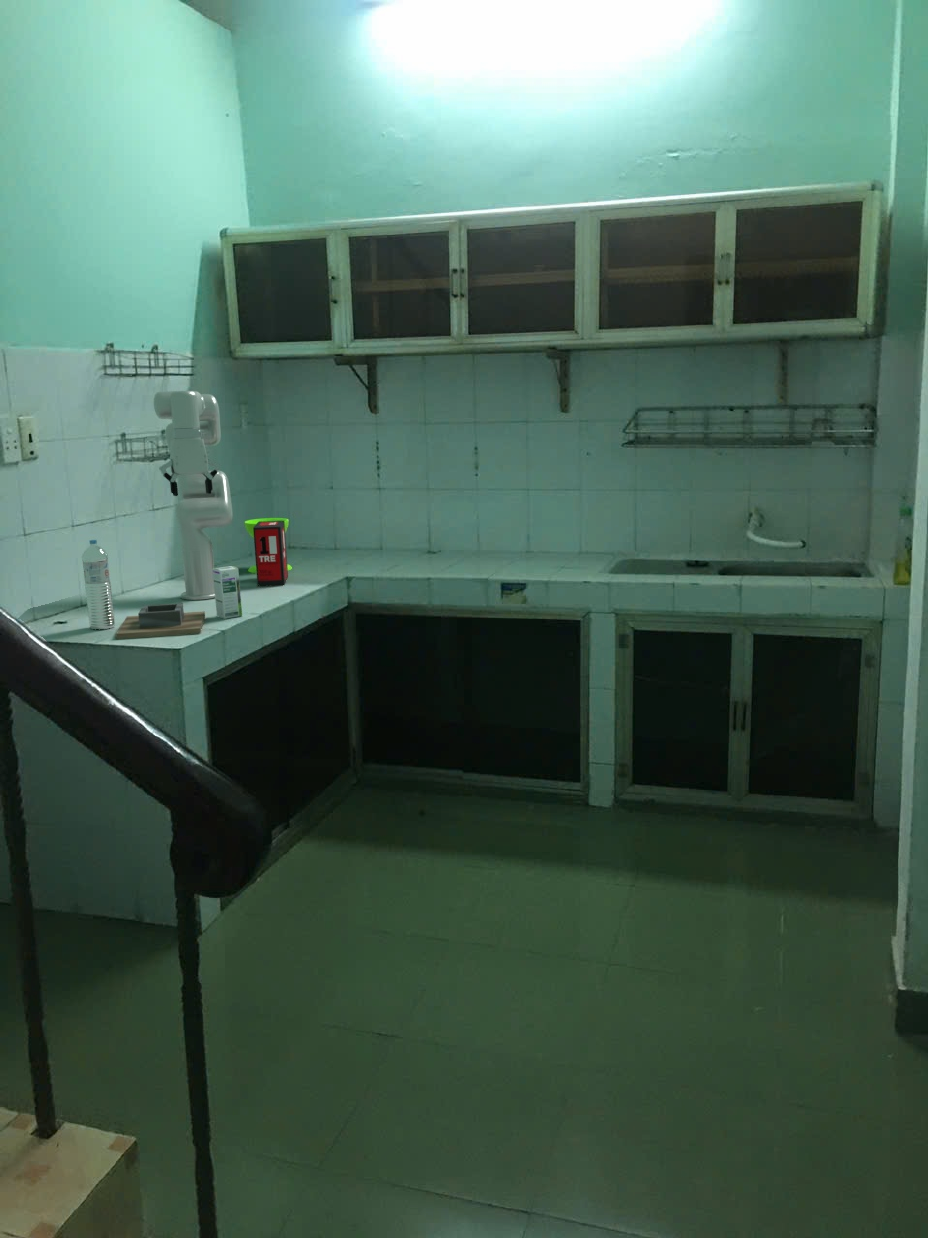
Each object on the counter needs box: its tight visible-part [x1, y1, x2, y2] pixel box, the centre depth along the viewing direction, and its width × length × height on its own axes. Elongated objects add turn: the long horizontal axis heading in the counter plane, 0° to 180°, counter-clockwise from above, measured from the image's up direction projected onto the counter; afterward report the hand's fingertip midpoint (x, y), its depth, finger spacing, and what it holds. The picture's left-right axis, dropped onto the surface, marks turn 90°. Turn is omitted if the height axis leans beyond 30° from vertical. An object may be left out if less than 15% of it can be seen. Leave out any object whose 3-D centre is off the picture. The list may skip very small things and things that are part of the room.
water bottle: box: [81, 539, 116, 631], centre depth 282 cm, size 7×7×25 cm
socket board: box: [115, 602, 206, 640], centre depth 283 cm, size 22×22×6 cm
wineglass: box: [244, 517, 293, 574], centre depth 369 cm, size 16×16×18 cm
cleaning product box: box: [253, 521, 289, 588], centre depth 345 cm, size 16×9×20 cm, turn 5°
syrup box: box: [213, 565, 243, 620], centre depth 294 cm, size 6×6×14 cm
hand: (192, 494), depth 292 cm, fingers open, 9 cm apart
